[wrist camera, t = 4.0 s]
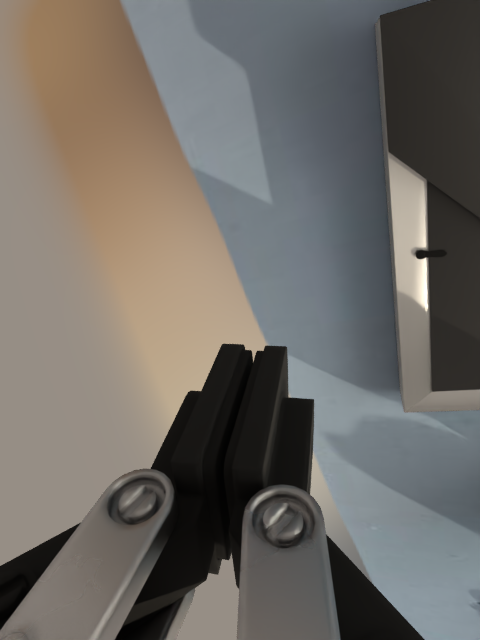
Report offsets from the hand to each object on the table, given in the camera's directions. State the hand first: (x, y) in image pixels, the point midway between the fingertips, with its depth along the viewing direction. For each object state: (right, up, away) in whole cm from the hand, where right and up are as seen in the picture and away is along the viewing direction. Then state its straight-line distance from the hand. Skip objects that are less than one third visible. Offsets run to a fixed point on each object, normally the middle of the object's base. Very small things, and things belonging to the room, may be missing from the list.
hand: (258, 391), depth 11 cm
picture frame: (+15, +7, +10) cm, 20 cm away
